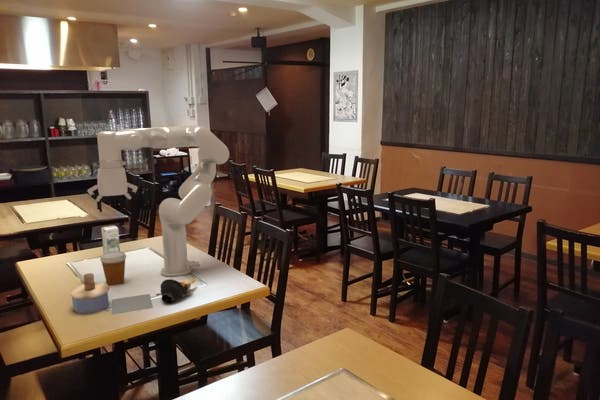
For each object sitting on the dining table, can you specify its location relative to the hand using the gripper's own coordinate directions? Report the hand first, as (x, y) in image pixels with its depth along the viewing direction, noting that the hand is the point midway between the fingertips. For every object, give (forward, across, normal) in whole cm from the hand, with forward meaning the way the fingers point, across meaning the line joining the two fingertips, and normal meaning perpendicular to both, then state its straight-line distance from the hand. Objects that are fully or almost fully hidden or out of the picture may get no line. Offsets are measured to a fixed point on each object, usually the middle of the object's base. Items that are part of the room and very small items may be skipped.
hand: (114, 210), depth 170 cm
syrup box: (+31, +3, -40) cm, 50 cm away
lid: (+24, +10, +17) cm, 31 cm away
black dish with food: (+31, -20, +19) cm, 41 cm away
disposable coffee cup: (+31, +2, -4) cm, 31 cm away
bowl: (+30, +10, +17) cm, 36 cm away
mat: (+30, -3, +20) cm, 36 cm away
